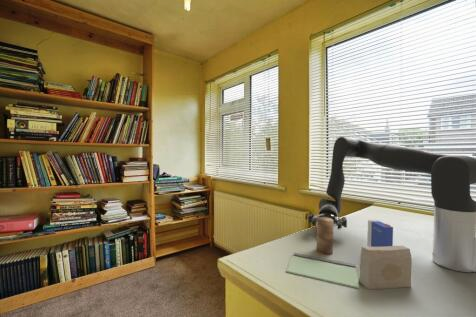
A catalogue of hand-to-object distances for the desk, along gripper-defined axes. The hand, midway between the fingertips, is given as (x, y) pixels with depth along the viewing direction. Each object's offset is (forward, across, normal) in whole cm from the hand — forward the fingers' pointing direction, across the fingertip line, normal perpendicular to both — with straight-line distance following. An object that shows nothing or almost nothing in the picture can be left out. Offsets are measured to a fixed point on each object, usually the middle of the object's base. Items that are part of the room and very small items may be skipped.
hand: (326, 225), depth 84 cm
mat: (+23, 0, +6) cm, 24 cm away
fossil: (+23, +15, +7) cm, 28 cm away
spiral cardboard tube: (+9, 0, +6) cm, 11 cm away
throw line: (+16, 0, +6) cm, 17 cm away
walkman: (+8, +16, +7) cm, 19 cm away
